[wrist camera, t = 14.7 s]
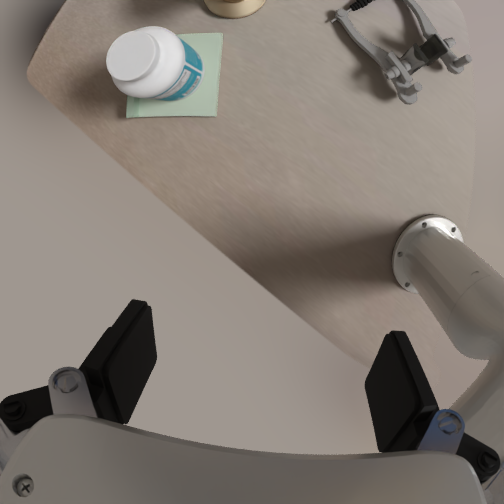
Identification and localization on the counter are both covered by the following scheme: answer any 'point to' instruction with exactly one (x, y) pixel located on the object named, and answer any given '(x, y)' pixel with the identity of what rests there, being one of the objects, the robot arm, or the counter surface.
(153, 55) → the pill bottle
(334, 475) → the robot arm
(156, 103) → the board
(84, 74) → the counter surface
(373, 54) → the bike brake
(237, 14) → the bobbin
